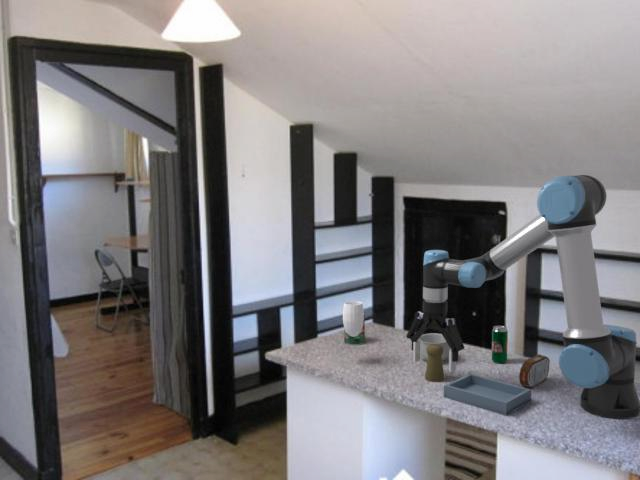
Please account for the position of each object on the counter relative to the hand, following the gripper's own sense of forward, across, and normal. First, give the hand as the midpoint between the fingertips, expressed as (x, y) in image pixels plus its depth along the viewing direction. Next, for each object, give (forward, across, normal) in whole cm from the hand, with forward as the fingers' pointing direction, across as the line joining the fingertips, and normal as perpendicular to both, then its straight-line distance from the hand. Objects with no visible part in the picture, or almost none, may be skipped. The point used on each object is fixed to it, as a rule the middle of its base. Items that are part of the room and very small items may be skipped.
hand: (434, 366), depth 203 cm
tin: (+4, -25, -17) cm, 31 cm away
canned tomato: (+5, +46, -13) cm, 48 cm away
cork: (+4, 0, 0) cm, 4 cm away
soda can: (+4, -6, -29) cm, 30 cm away
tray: (+4, -21, +4) cm, 22 cm away
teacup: (+4, +13, -16) cm, 21 cm away
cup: (+5, +30, +5) cm, 30 cm away
